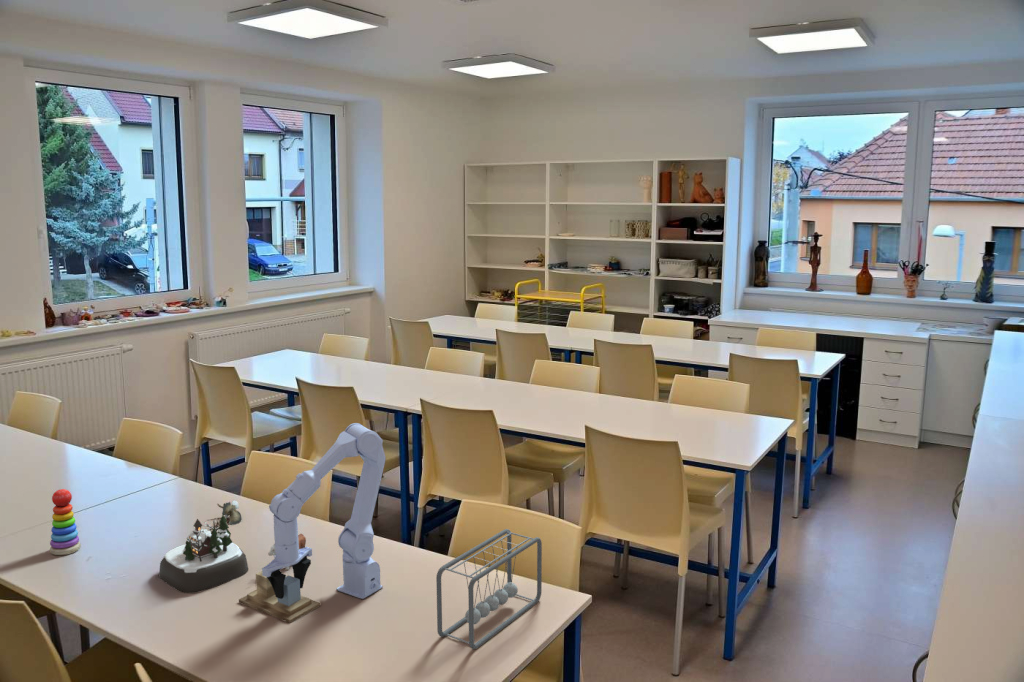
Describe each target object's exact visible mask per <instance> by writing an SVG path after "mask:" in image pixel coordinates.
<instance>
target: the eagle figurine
mask: <svg viewBox="0 0 1024 682" xmlns="http://www.w3.org/2000/svg"><path fill="white" fill-rule="evenodd" d="M216 505H217V506H218V507H219V508H220V509H222V511H221V514H222V515H223V516H224V517H225V519H226V520H227V518H228V517H229V522H228V525H231V526H235V525H237V523H238V524H240V523H241V522H242V521H243V519H242V514H241V512H240V511H239V510H237V509H239V508H240V505H239V502H238V501H237V500H234V499H233V500H232V501H229V502H224V503H223V505H221V504H219V503H216ZM222 515H221V516H222Z"/></svg>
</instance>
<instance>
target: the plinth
mask: <svg viewBox="0 0 1024 682" xmlns="http://www.w3.org/2000/svg"><path fill="white" fill-rule="evenodd" d="M238 603H240V604H242V605H244V606H247V607H249V608H252V609H254V610H256V611H259V612H261V613H265V614H266V615H269V616H272V617H274V618H276V619H279V620H281V621H284V622H286V623H289V624H291V623H293V622H295V621H297V620H298V619H300V618H301V617H303V616H305V615H307V614H309V613H311V612H312V611H314V610H315V609H317V608H319V607H321V602H319V601H316V600H314V599H311V598H309V597H306V596H304V595H301V600H299V601H297V602H295V603H294V604H292V605H290V606H287V605H284V604H282V603H279V602H278V599H277V597H276V596H275V594H274V595H272V596H271V597H269V598H266V597H264V596H261V595H258V594H257V589H255V590H253V591H251V592H249V593H247V594H246V595H245V596H243V597H241V598H238Z"/></svg>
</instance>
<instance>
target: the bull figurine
mask: <svg viewBox="0 0 1024 682" xmlns="http://www.w3.org/2000/svg"><path fill="white" fill-rule="evenodd" d="M306 539H307V538H306V537H305V536H304V534H303V533H298V541H299V549H302V548H305V547H306V544H307V542H306V541H307V540H306ZM267 554H268V556H269V557H272V556H273V557H274V556H275V543H274V544H273V545H272V546H271V547H270V550H269V552H267ZM289 570H290V566H288V567H285V569H284V571H286V572H287V571H289Z"/></svg>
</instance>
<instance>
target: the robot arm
mask: <svg viewBox="0 0 1024 682" xmlns="http://www.w3.org/2000/svg"><path fill="white" fill-rule="evenodd" d="M383 442H384V440H383V438H381V436H380V435H379V434H378V433H377V432H376V431H374V430H371V429H369V428H367V427H365V426H364V425H363V424H361V423H358V422H354V423H351V424H349V425H348V426H347V427H346V428H345V430H344V431H341V432H340V433H339V435H338V436H337V439H336V440H335V442H334V444H332V445H331V446H330V448H329V449H328V450H327V451H326V453H325V454H324V455H323V456H322V457H321V458H320V459H319V460H318V461H317V463H316V464H315V465H314V466H313V467H312V468H311V469H309V470H303V471H302V472H299V473H298V474H296V476H295V479H294V481H292V483H290V484H289V485H288V486H287V488H284V489H282V492H281V493H277V494H276V495H275V496H274V497H272V499H271V501H270V504H269V505H268V508H269V511H270V512H271V513H272V514H273V534H274V535H273V536H274V544H275V556H273V559H272V560H271V561H270V562H269V563H268V564H267V565H265V566H263V567H261V571H262V575H263V576H265V577H267V578H268V580H269V581H270V583H271V585H272V587H273V590H274V593H275V596H276V597H277V598H280V599H282V598H283V597H284V581H285V577H287V575H286V574H285V573H282V571H281V570H283V569H284V568H285V569H286V567H288V566H289V567H291V569H292V572H293V577H295V578H297V579H300V589H303V587H304V583H305V578H306V575H307V572H308V569H309V568H310V567H311V564H312V562H311V561H312V560H311V559H310V558H308V557H311V556H312V557H313V548H311V547H308V546H305V548H302V549H299V541H298V535H299V526H298V525H299V524H298V517H299V516H300V514H301V512H302V507H303V505H304V504H305V503H306V502H307V501H308V500H309V499H310V498H311V497H312V496H313V495H314V494H315V493H316V492H317V491H318V490H319V489H320V488H321V483H322V482H321V481H322V479H323V478H324V477H325V476H327V474H329V473H330V472H331V471H332V470H333V469H334V468H335V467H336V466H337V465H338V464H339V463H340V462H341V461H342V460H343V459H346V458H354V457H360V458H361V459H362V461H363V464H362V468H361V471H360V476H359V477H360V478H359V482H358V487H357V489H356V490H357V491H356V493H355V499H354V503H353V508H352V512H351V516H350V519H349V520H348V521H346V522H345V523H344V528H343V529H342V531H341V532H340V534H339V535H338V540H337V542H338V543H337V544H338V546H339V548H341V550H342V572H343V573H342V575H343V577H342V578H343V584H342V585H340V586H338V587H337V588H336V591H339V592H341V593H344V594H347V595H350V596H353V597H354V598H355V597H356V598H358V599H361V600H363V599H366V598H367V597H369V596H371V595H372V594H374V593H376V592H377V591H379V590H381V589H382V588H383V587H384V586H383V585H382V584H381V567H380V564H379V562H377V561H376V560H374V559H373V558H372V555H373V553H374V551H375V544H374V536H375V533H374V530H373V526H372V520H373V515H374V511H375V507H376V503H377V498H378V493H379V490H380V486H381V482H382V476H383V472H384V468H385V464H386V458H387V457H386V454H385V450H384V447H383Z"/></svg>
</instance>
